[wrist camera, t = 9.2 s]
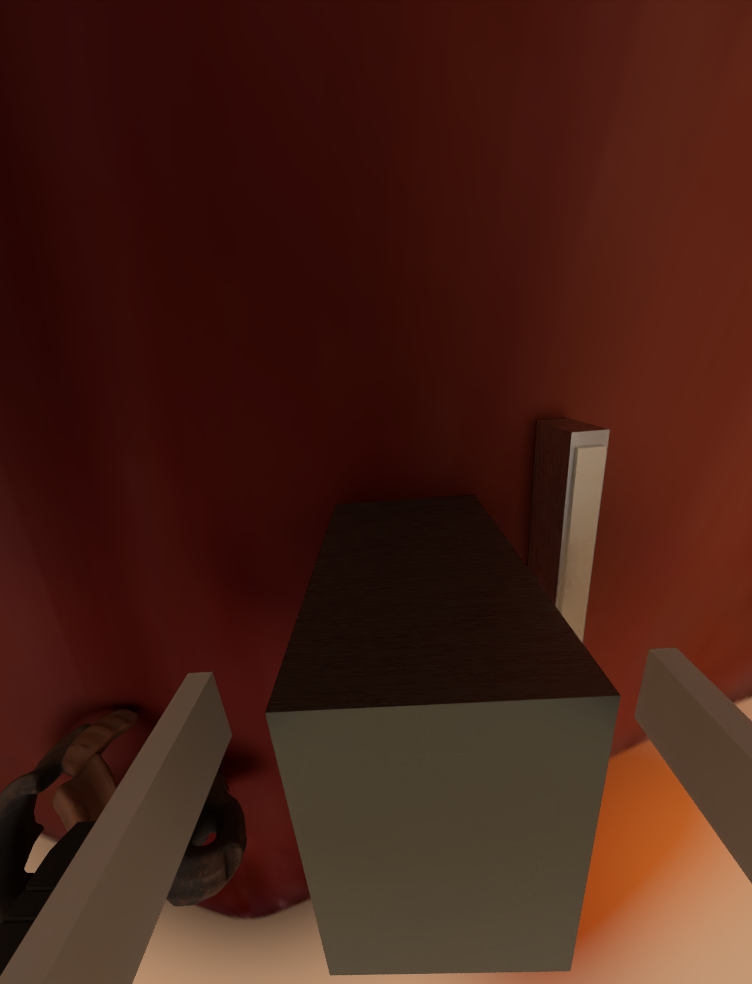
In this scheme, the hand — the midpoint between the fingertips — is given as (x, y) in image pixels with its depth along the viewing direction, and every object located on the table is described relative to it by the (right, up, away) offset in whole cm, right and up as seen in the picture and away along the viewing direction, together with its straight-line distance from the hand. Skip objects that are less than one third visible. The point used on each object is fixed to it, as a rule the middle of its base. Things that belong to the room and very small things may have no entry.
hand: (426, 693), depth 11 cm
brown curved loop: (-14, -10, +10) cm, 20 cm away
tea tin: (0, +2, +6) cm, 6 cm away
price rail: (+6, +2, +6) cm, 8 cm away
